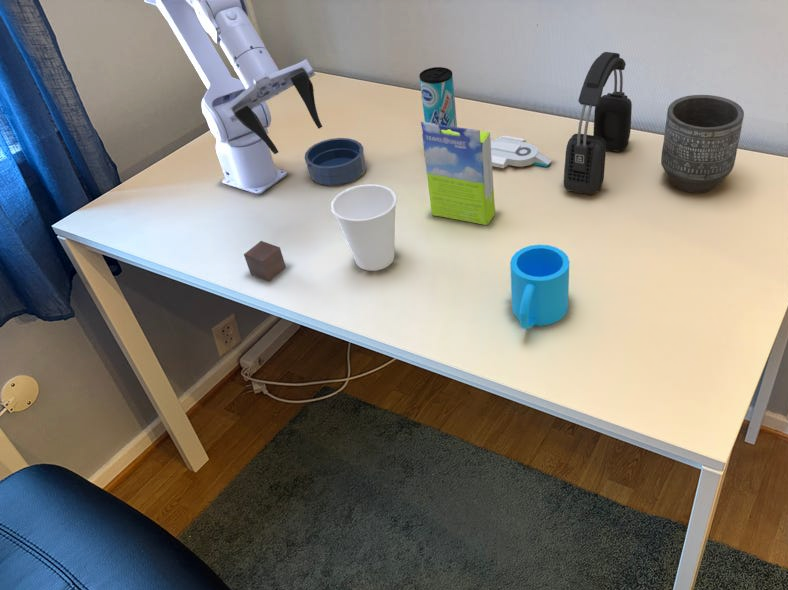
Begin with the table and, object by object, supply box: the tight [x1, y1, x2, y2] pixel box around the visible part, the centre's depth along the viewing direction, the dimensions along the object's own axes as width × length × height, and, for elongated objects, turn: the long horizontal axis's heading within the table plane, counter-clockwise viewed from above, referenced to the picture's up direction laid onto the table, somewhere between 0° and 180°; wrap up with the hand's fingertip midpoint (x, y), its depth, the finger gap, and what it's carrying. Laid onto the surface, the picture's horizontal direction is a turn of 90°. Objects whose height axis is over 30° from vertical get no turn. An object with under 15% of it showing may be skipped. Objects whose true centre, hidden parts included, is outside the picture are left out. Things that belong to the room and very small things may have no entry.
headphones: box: [563, 51, 633, 196], centre depth 126 cm, size 22×6×20 cm, turn 155°
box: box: [420, 121, 496, 226], centre depth 119 cm, size 10×4×17 cm, turn 68°
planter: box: [660, 94, 745, 194], centre depth 124 cm, size 12×12×13 cm
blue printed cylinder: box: [418, 66, 458, 127], centre depth 135 cm, size 6×6×15 cm
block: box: [243, 240, 287, 282], centre depth 116 cm, size 4×4×4 cm
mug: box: [509, 244, 570, 330], centre depth 103 cm, size 12×8×8 cm
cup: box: [330, 183, 398, 272], centre depth 113 cm, size 10×10×11 cm
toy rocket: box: [490, 135, 552, 169], centre depth 136 cm, size 16×10×2 cm, turn 63°
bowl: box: [304, 137, 367, 187], centre depth 136 cm, size 11×11×4 cm
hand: (297, 138), depth 110 cm, fingers open, 7 cm apart
